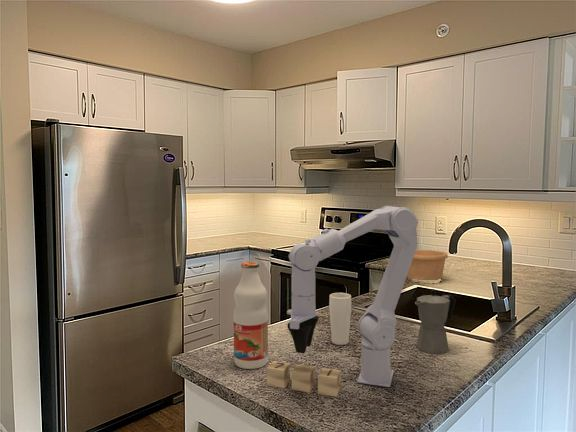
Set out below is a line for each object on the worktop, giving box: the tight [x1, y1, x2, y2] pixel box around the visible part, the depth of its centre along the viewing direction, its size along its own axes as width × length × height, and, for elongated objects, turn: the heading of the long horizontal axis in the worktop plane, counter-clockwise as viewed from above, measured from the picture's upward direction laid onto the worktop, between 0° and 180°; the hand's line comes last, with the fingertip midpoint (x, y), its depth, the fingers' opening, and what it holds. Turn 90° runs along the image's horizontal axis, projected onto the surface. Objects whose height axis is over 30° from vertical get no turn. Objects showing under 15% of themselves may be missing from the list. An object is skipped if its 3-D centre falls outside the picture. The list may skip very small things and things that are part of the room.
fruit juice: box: [233, 261, 269, 370], centre depth 119 cm, size 9×9×28 cm
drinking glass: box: [328, 292, 352, 346], centre depth 135 cm, size 7×7×15 cm
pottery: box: [406, 249, 449, 281], centre depth 222 cm, size 22×22×14 cm
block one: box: [317, 367, 342, 397], centre depth 104 cm, size 4×4×5 cm
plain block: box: [291, 364, 316, 393], centre depth 106 cm, size 4×4×4 cm
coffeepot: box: [414, 288, 457, 355], centre depth 130 cm, size 15×9×18 cm, turn 115°
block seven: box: [266, 360, 291, 389], centre depth 108 cm, size 4×4×5 cm
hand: (303, 349), depth 105 cm, fingers open, 4 cm apart
